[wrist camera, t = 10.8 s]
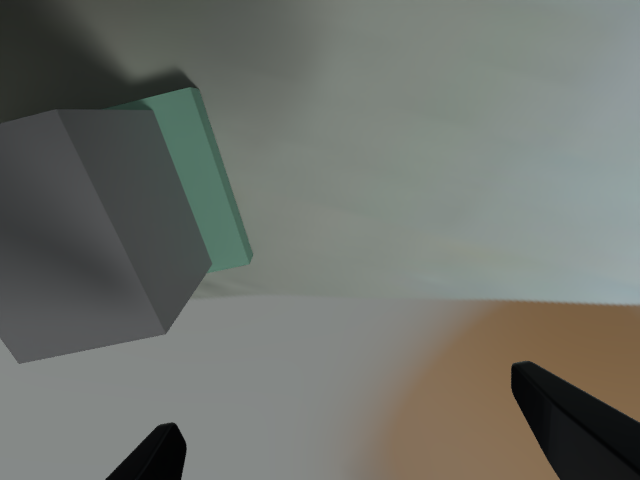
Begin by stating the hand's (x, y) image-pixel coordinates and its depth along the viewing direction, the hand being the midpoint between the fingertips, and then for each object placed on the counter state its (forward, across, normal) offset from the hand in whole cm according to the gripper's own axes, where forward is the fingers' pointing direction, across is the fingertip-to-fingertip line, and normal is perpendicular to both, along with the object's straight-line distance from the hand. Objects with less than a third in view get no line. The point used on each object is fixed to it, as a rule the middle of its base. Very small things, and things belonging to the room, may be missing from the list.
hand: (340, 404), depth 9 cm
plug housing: (+10, +9, -5) cm, 14 cm away
